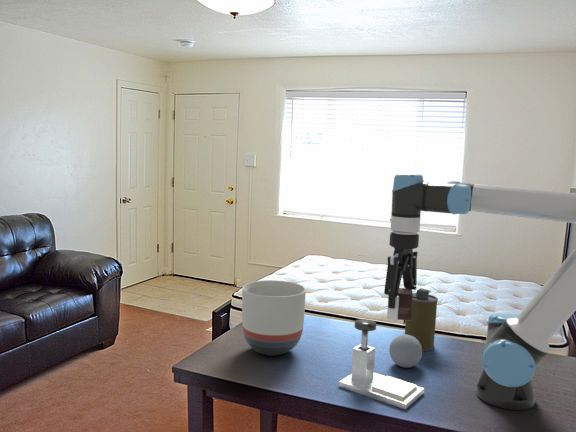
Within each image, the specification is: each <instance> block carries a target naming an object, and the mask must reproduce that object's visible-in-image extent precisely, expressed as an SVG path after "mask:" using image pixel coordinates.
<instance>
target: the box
mask: <svg viewBox="0 0 576 432" xmlns="http://www.w3.org/2000/svg"><path fill="white" fill-rule="evenodd" d="M412 290H413V289H407V288H404V287H403V288H402V287H399V291H398V295H397V296H399V307H398V320H399V321H404V320H407V321H411V310H412V295H413V294H412V293H413V291H412ZM398 320H397V321H398Z"/></svg>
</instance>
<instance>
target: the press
mask: <svg viewBox="0 0 576 432" xmlns="http://www.w3.org/2000/svg"><path fill="white" fill-rule="evenodd" d="M375 354H376V348H375V347H373V346H369V345H367V351H364V350H361V343H360V344H358V345H356V346H354V347H353V348H352V359H351V360H352V361H351V374H349V375H347V376H345V377H344V378H342V379H341V380H339V383H338V387H340V388H342V389H346V390H348V391H351V392H355V393H357V394H360V395H362V396H366V397H368V398H371V399H373V400H374V399H375V400H378V401H379V402H383V403H385V404H388V405H391V406H394V407H398V408H400V409H402V410H407V409H408V408H409V407H410V406H411V405H412V404H414V403H415V402H416V401H417V400H418V399H419V398H420V397H422V396H423V395H424V393H425V388H424V387H421V386H418V385H417V384H414V383H411V382H408V381H405V380H402V379H400V378H396V377H393V376H390V375H386V376H385V375H383V374H380V373H377V372H375V360H376V359H375Z"/></svg>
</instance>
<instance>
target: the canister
mask: <svg viewBox="0 0 576 432" xmlns="http://www.w3.org/2000/svg"><path fill="white" fill-rule="evenodd" d="M431 292H432V291H431V290H430V289H427V288H426V289H425V288H421V287H420V288H418V289H416V292H414V293H413V292H412V294H413V295H412V310H411V321H407V320H403V325H405V326H404V327H405V329H404V334H406V335H411V336H413V337H414V338H416V339H417V340H418V341H419V343H420V345H421V347H422V352H430V351H432V350H434V349H435V334H436V321H437V310H438V309H437V308H438V300H439V299H438V297H437V296H435V295H432V294H430V293H431Z"/></svg>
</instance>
